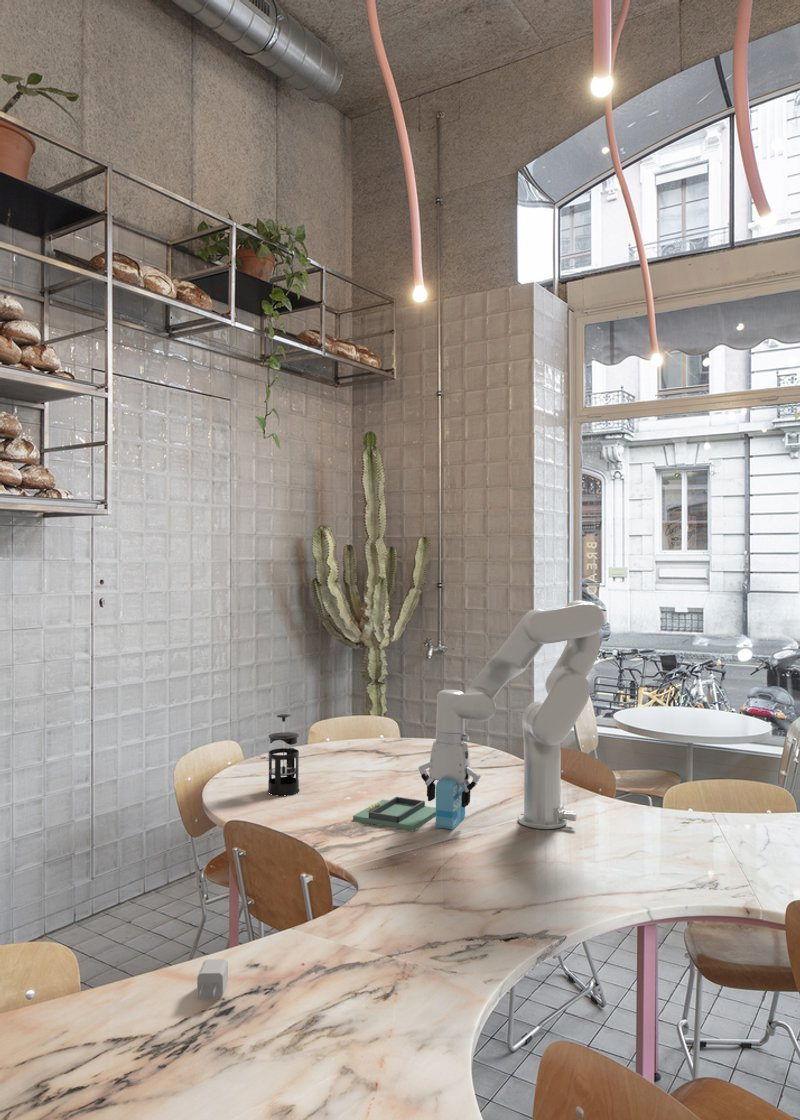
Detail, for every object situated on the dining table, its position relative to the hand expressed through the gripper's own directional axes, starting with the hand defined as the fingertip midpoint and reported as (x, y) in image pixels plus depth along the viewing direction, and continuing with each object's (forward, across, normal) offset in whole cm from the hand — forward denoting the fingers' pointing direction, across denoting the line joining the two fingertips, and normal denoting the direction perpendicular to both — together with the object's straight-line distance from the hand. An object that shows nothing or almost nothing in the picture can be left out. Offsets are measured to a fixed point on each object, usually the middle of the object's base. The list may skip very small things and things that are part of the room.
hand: (448, 802), depth 209 cm
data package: (+6, -1, 0) cm, 6 cm away
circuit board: (+6, +14, +1) cm, 15 cm away
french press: (+7, +55, -4) cm, 56 cm away
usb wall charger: (+7, -1, +93) cm, 94 cm away
